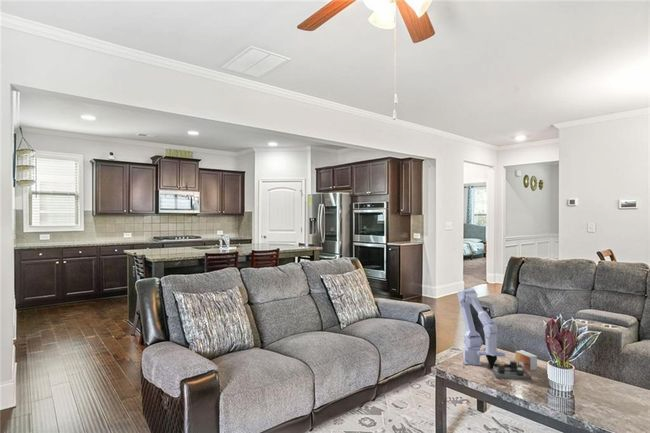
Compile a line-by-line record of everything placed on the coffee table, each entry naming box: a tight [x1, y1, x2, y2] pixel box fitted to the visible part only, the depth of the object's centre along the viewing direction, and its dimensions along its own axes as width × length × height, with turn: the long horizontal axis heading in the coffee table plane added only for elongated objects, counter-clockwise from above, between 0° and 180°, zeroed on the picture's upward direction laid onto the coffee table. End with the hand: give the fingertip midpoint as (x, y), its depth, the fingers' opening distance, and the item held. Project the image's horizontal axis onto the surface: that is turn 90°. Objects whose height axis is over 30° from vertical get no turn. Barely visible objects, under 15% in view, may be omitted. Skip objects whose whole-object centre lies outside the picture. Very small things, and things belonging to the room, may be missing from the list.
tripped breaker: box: [498, 362, 505, 371], centre depth 213 cm, size 3×2×4 cm
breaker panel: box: [487, 359, 532, 381], centre depth 212 cm, size 18×16×5 cm
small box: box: [515, 349, 538, 371], centre depth 220 cm, size 8×6×10 cm
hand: (491, 368), depth 214 cm, fingers closed
